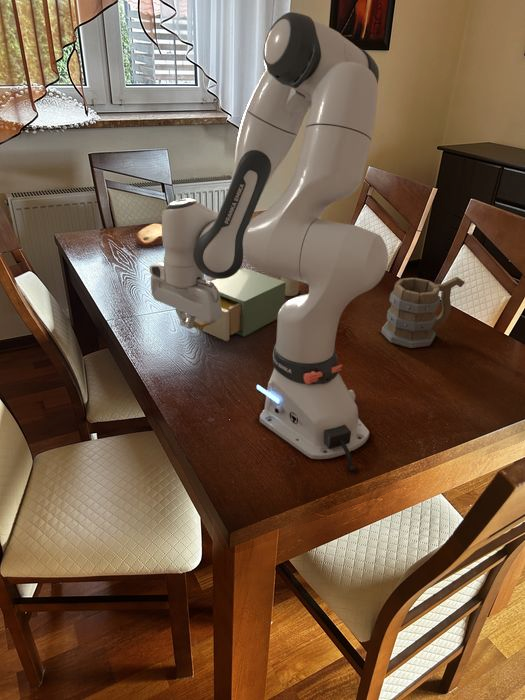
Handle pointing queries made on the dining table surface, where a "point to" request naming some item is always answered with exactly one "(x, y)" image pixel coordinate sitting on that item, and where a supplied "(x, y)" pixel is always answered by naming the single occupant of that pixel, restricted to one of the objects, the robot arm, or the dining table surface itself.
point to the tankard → (417, 311)
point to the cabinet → (253, 297)
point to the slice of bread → (150, 235)
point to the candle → (291, 287)
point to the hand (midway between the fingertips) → (187, 326)
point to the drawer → (223, 322)
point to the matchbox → (226, 303)
